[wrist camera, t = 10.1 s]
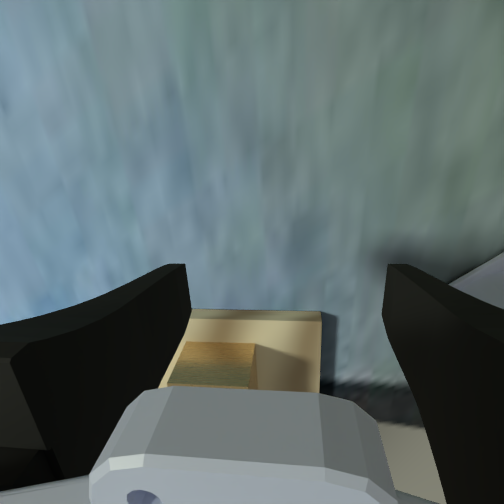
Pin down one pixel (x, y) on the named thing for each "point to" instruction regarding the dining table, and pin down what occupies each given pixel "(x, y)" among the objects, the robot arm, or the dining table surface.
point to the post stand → (264, 344)
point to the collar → (216, 366)
